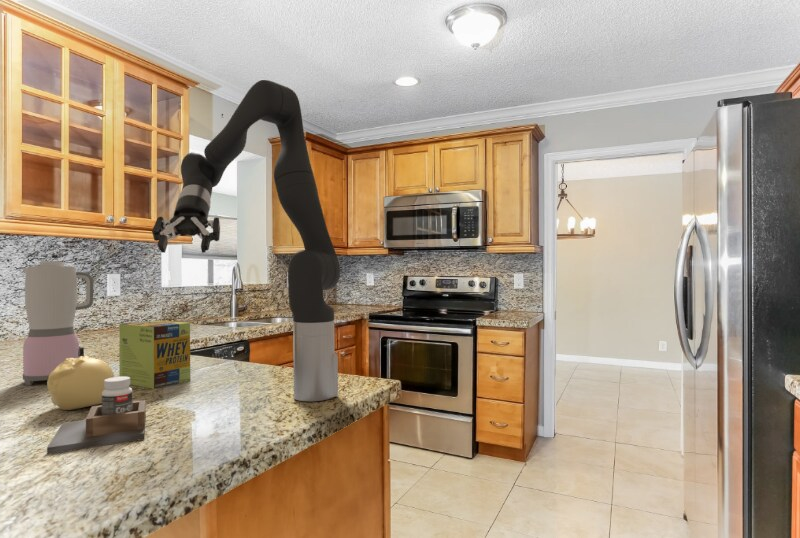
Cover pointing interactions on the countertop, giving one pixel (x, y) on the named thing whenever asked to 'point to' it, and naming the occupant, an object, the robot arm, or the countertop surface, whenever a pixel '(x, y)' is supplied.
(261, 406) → the countertop surface
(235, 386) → the countertop surface
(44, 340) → the blender
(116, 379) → the pill bottle
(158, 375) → the protein box
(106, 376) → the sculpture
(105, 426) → the socket dock
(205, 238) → the robot arm
